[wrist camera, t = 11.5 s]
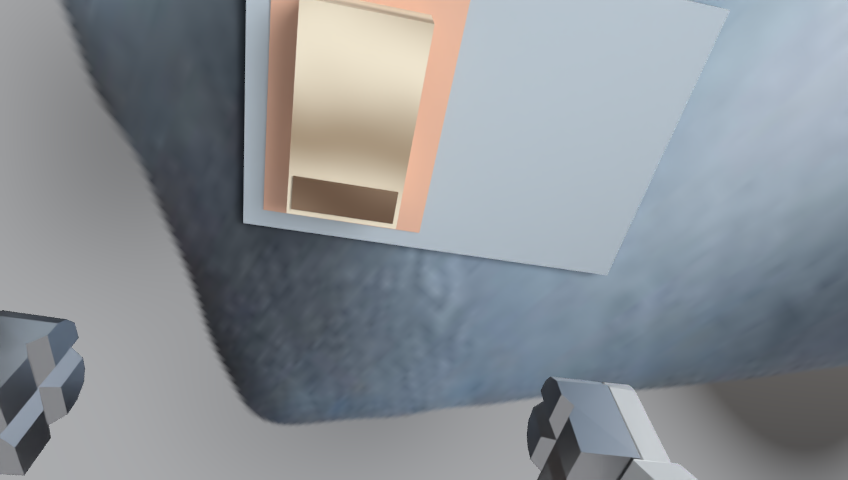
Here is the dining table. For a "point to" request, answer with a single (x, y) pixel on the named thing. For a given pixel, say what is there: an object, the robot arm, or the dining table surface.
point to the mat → (504, 123)
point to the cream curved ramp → (355, 108)
